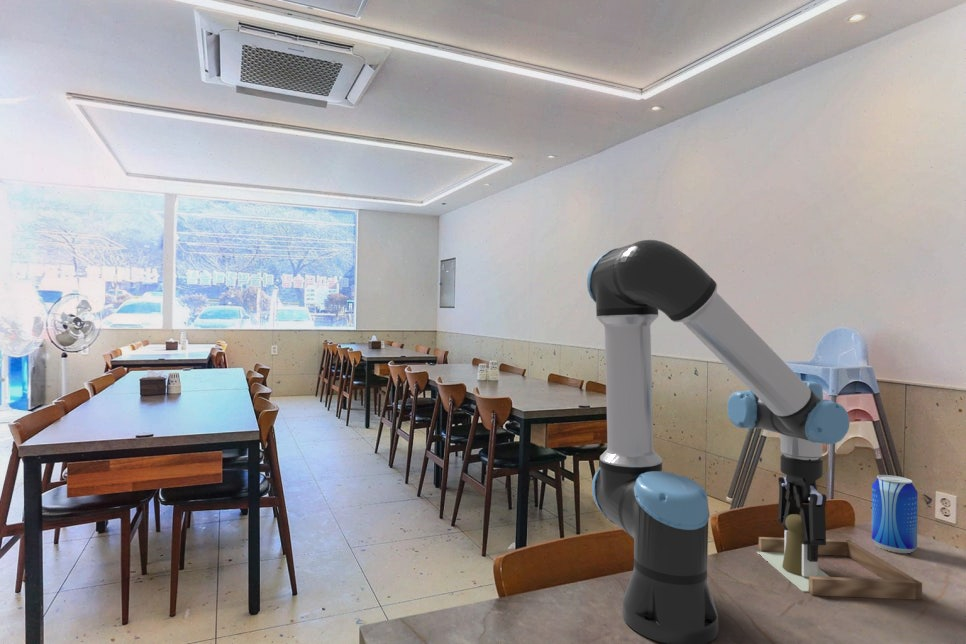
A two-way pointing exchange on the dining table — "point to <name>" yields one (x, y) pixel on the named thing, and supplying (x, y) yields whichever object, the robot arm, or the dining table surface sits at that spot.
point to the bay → (888, 587)
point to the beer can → (894, 514)
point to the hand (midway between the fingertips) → (800, 568)
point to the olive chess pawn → (793, 545)
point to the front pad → (777, 563)
